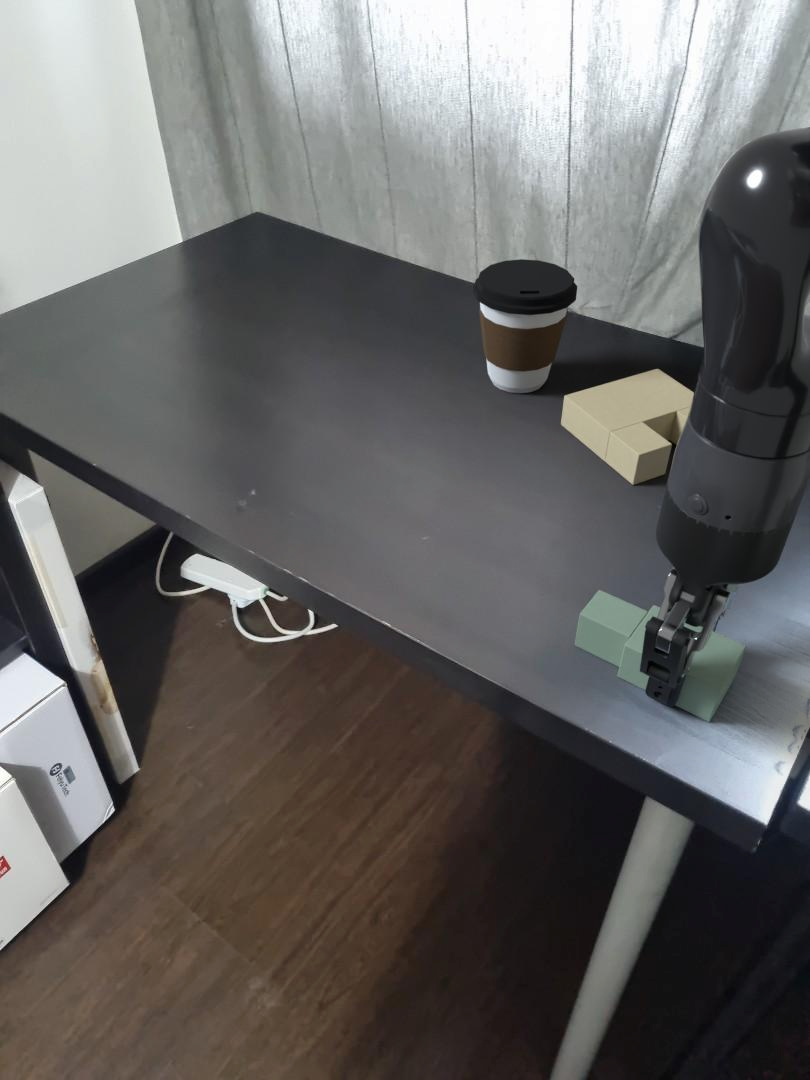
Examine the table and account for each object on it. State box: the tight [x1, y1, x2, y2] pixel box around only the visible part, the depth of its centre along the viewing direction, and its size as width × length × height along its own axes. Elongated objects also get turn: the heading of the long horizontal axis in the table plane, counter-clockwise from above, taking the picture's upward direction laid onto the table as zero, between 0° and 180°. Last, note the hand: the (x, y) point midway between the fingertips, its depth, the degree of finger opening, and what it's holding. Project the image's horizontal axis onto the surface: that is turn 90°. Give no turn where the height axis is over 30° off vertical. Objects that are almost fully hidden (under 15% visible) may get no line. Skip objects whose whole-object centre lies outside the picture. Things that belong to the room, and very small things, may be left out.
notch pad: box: [560, 368, 694, 486], centre depth 83 cm, size 12×12×4 cm
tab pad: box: [574, 589, 747, 723], centre depth 60 cm, size 11×5×4 cm, turn 53°
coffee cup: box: [472, 258, 578, 394], centre depth 90 cm, size 11×11×12 cm
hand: (676, 673), depth 60 cm, fingers closed on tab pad, 5 cm apart
